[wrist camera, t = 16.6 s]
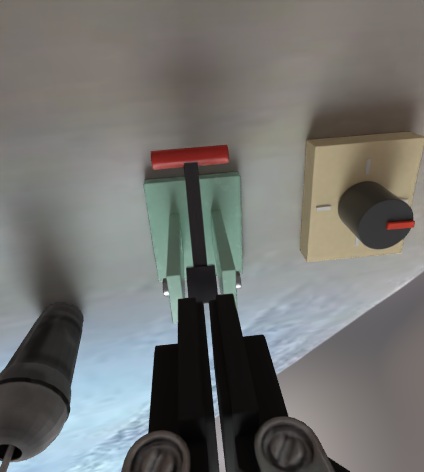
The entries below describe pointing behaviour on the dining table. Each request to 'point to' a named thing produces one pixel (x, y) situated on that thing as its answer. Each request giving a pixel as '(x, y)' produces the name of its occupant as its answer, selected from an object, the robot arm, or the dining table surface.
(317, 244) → the panel
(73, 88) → the dining table surface
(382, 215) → the knob
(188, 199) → the lever
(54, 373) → the beverage cup
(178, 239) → the bracket
